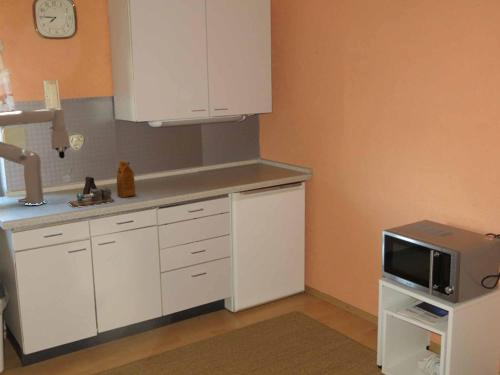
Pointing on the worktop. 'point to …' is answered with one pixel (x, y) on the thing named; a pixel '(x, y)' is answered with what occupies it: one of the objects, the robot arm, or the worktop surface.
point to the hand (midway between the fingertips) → (62, 158)
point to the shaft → (86, 196)
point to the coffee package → (125, 180)
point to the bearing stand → (95, 198)
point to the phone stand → (89, 185)
